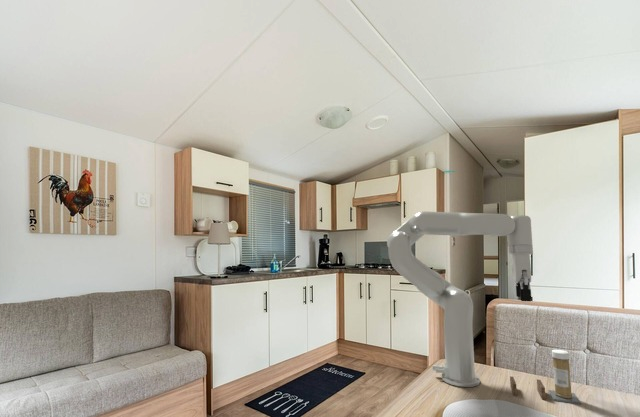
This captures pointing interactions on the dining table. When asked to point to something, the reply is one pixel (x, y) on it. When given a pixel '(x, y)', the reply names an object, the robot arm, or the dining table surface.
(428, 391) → the dining table surface
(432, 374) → the dining table surface
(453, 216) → the robot arm
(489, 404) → the dining table surface
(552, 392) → the slate coaster
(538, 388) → the walnut rack
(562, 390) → the sprinkles bottle
